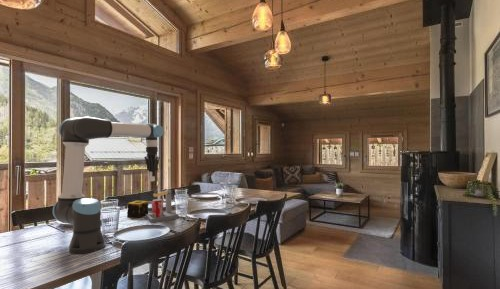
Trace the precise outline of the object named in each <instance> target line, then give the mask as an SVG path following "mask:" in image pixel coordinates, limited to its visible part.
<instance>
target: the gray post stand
mask: <svg viewBox="0 0 500 289" xmlns="http://www.w3.org/2000/svg"><path fill="white" fill-rule="evenodd" d="M144 217H145V219H146V220H147V221H149V223H158V222H164V221H169V220H175V219H179V214H178V213H176V212H175V211H173V210H172V193H171V194H165V211H163V216H162V217H156V218H152V213H148V214H145V216H144Z"/></svg>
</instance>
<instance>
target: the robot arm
mask: <svg viewBox="0 0 500 289" xmlns="http://www.w3.org/2000/svg"><path fill="white" fill-rule="evenodd" d="M58 132H59V133H58V134H59V135H60V137H61V138H62V144H63V145H64V146H65V151H64V164H63V178H62V179H63V180H62V188H61V189H62V191H61V194H60V195H58V197H57V201H56V203H54V205H53V207H52V215H53V217H54V218H55V220H57V221H58V222H60V223H62V224H67V225H68V224H69V225H72V236H71V240H70V241H69V242H70V243H69V246H68V252H69V253H70V254H75V255H81V254H88V253H89V254H90V253H94V252H95V251H97V252H98V251H99V250H101V249H102V248H104V247H105V246H106V241H105V237H104V235H103V232H102V226H101V225H102V224H101V222H102V221H101V220H102V219H101V217H102V216H101V214H102V212H101V209H102V207H101V202H100V200H98V199H96V198H91V197H90V198H89V197H86V196H85V194H83V182H84V181H83V180H84V171H85V170H84V167H85V165H84V164H85V157H86V156H85V155H86V154H85V151H86V147H87V146H89V145H90V140H95V139H108V138H110V137H131V138H136V139H139V138H141V139H142V138H144V139H145V146H146V147H145V152H146V153H147V154H146V156H144V161H145V165H146V170H147V171H148V172H149V182H155V181H156V180H155V179H156V178H155V177H156V171H158V167H159V162H160V161H159V160H160V158H161V157H160V156H158V152H159V151H158V150H159V149H158V145H159V144H158V142H159V141H158V138H160V137H162V136H164V135H163V134H164V128H163V126H161V125H159V124H157V123H145V124H141V123H129V122H128V123H127V122H115V121H111V120H110V119H103V118H98V117H93V116H92V117H91V116H82V117H70V118H67V119H64V120H63V121H62V122H61V123H60V125H59V127H58Z"/></svg>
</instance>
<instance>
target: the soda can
mask: <svg viewBox="0 0 500 289" xmlns="http://www.w3.org/2000/svg"><path fill="white" fill-rule="evenodd" d="M163 212H164V201H163V199H162V198H155V199H152V201H151V214H152V218H156V217H162V216H163Z"/></svg>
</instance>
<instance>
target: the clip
mask: <svg viewBox="0 0 500 289" xmlns="http://www.w3.org/2000/svg"><path fill="white" fill-rule="evenodd" d="M166 194H171V195H172V189H165V190H164V191H163V190H162V191H160V192H158V190H155V191H154V193H153V194H152V196H153V197H154V198H156V197H157V198H158V197H160V196H164V195H165V196H166Z"/></svg>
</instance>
